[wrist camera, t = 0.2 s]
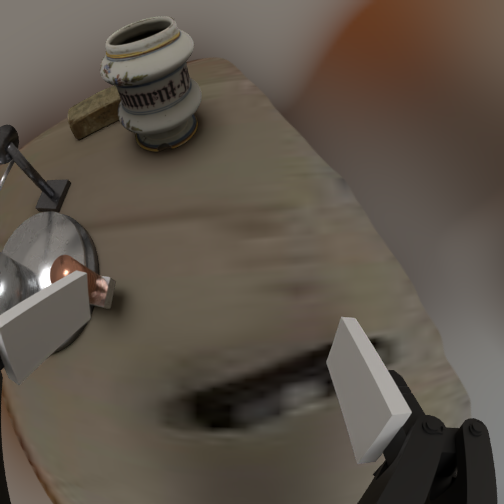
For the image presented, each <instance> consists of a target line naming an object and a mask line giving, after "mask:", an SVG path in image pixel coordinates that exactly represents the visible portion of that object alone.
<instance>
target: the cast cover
mask: <svg viewBox="0 0 504 504" xmlns="http://www.w3.org/2000/svg"><path fill="white" fill-rule="evenodd" d="M37 292H38V289H37V283H36V279H35V277H34V275H33V273H32V271H31V270H30V269H29V268H27V267H26V266H24V265H22V264H20V263H19V262H17V261H15V260H13V259H12V258H10V257H8V256H6V255H5V254H3V253H1V252H0V315H1V314H2V313H4V312H5V311H7V310H9V309H10V308H12V307H13V306H15V305H17V304H19V303H20V302H22V301H24V300H25V299H27V298H29V297H30V296H32V295H34V294H35V293H37Z"/></svg>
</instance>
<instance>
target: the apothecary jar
mask: <svg viewBox="0 0 504 504" xmlns="http://www.w3.org/2000/svg"><path fill="white" fill-rule="evenodd" d="M193 47H194V43H193V40H192V38H191V37H190V36H189V35H188V34H187V33H185V32H184V31H181V30H179V29H178V28H177V25H176V22H175V20H174V19H173V18H171V17H166V16H162V17H153V18H148V19H144V20H141V21H137V22H134V23H132V24H129V25H127V26H125V27H124V28H122V29H120V30H118V31H116V32H115V33H114V34H112V35H111V36H110V37H109V38H108V39H107V41H106V55H105V57H104V58H103V60H102V62H101V66H100V73H101V76H102V78H103V79H104V80H105V81H106V82H108V83H110V84H112V85H115V86H116V88H117V90H118V93H119V96H120V99H121V102H120V104H119V107H118V117H119V120H120V122H121V124H122V125H123V126H124V127H125V128H126V129H127V130H129V131H131V132H134V133H136V141H137V143H138V145H139V146H140V147H142V148H143V149H145V150H148V151H154V152H159V151H161V150H163V149H166V148H170V149H174V148H176V147H178V146H180V145H182V144H184V143H186V142H187V141H188V140H189V139H190V138H191V137H192V136H193V135H194V133H195V132H196V130H197V126H198V121H197V118H196V116H195V115H194V113H195V111H196V110H197V109H198V107H199V105H200V102H201V90H200V87H199V85H198V84H197V83H196V82H195V81H194V80H193V79H192V78H190V77H189V73H188V69H187V64H186V61H187V60H188V58H189V57H190V56H191V54H192V52H193Z"/></svg>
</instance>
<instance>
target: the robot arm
mask: <svg viewBox="0 0 504 504" xmlns="http://www.w3.org/2000/svg"><path fill="white" fill-rule="evenodd" d="M90 319H91V316H90V307H89V296H88V283H87V273H85V272H81V271H77V270H76V271H74V272H72V273H71V274H69V275H67V276H65V277H63V278H62V279H60V280H58V281H56V282H54V283H53V284H51V285H49V286H47V287H46V288H44V289H42V290H40V291H39V292H37V293H35V294H34V295H32V296H30V297H29V298H27V299H25V300H24V301H22V302H20V303H19V304H17V305H15V306H13V307H12V308H10V309H9V310H7V311H5V312H4V313H2V314H1V315H0V370H2V369H3V368H5V370H6V373H7V375H8V378H9V379H11V380H12V381H14V382H15V383H17V384H18V385H20V384H21V383H22V382H23V381H24V380H25V379H26V378H27V377H28V376H29V375H30V374H31V373H32V372H33V371H34V370H35V369H36V368H37V367H38V366H39V365H40V364H42V363H43V362H44V361H45V360H46V359H47V358H48V357H49V356H50V355H51V354H52V353H53V352H54V351H55V350H56V349H57V348H59V347H60V346H61V345H62V344H63V343H64V342H65V341H66V340H67V339H68V338H69V337H71V336H72V335H73V334H74V333H75V332H76V331H77V330H78V329H79V328H81V327H82V326H83V325H84V324H85V323H86V322H87V321H88V320H90ZM326 363H327V366H328V369H329V372H330V375H331V378H332V381H333V385H334V388H335V391H336V394H337V397H338V401H339V404H340V407H341V410H342V414H343V417H344V420H345V424H346V427H347V430H348V434H349V437H350V441H351V444H352V448H353V451H354V455H355V458H356V462H357V464H362V463H369V462H376V460H377V459H378V458H379V457H380V456H381V454H382V453H383V454H384V456H385V459H386V460H385V461H384V463H383V464H382V465H381V466H380V467H379V468H378V469H377V470H376V472H375V473H374V474H373V475H374V476H375V477H374V479H373V480H372V482H371V484H370V485H369V487H368V488H367V490H366V491H365V493H364V495H363V496H362V498H361V499H360V501H359V502H358V503H357V504H497V487H496V477H495V468H494V461H493V454H492V448H491V443H490V438H489V433H488V430H487V427H486V426H485V425H484V424H483V422H481V421H479V420H477V419H474V418H472V419H467V420H465V421H464V423H463V424H462V425H461V427H460V428H446V427H445V425H444V423H443V422H442V421H441V420H440V419H438V418H436V417H434V416H430V415H425V413H424V412H423V410H422V408H421V407H420V405H419V403H418V402H417V400H416V398H415V397H414V395H413V394H412V393H411V390H410V389H409V387H407V384H406V382H405V381H404V379H403V378H402V377H401V376H400V375H399V374H398V373H397V372H395V371H394V370H387V368H386V367H385V365H384V363H383V362H382V360H381V358H380V357H379V355H378V353H377V352H376V350H375V349H374V347H373V345H372V344H371V342H370V340H369V339H368V337H367V336H366V334H365V333H364V331H363V329H362V328H361V326H360V325H359V323H358V321H357V320H356V318H349V317H341V319H340V323H339V326H338V329H337V332H336V335H335V338H334V341H333V344H332V347H331V350H330V353H329V356H328V359H327V362H326ZM2 379H3V377H2V373H1V371H0V504H11V502H10V498H9V492H8V487H7V482H6V476H5V469H4V461H3V452H2V438H1V393H2Z"/></svg>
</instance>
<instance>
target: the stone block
mask: <svg viewBox="0 0 504 504" xmlns="http://www.w3.org/2000/svg"><path fill="white" fill-rule="evenodd" d="M120 102H121V99H120V96H119V93H118V90H117V88H116V86H115V85H114V86H112V87H110V88H107V89H105V90H102V91H100V92H98V93H97V94H95V95H93V96H91V97H89V98H87V99H85V100H83V101H82V102H80V103H78V104H76V105H74V106H73V107H71V108H70V109H69V111H68V123H69V125H70V128H71V131H72V132H73V134H74V136H75V138H76V139H81V138H84V137H86V136H87V135H89V134H91V133H93V132H95V131H98V130H99V129H101V128H102V127H105V126H108V125H109V124H111V123H114V122H116V121H118V120H119V117H118V107H119V104H120Z"/></svg>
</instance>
